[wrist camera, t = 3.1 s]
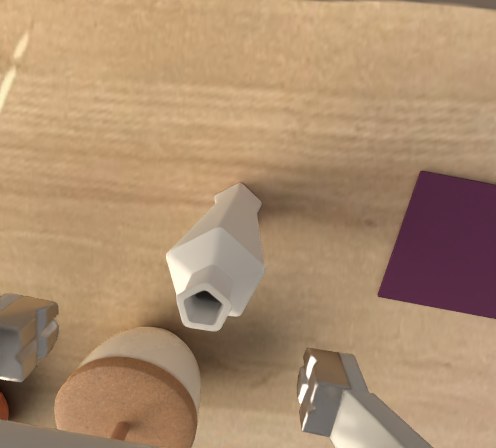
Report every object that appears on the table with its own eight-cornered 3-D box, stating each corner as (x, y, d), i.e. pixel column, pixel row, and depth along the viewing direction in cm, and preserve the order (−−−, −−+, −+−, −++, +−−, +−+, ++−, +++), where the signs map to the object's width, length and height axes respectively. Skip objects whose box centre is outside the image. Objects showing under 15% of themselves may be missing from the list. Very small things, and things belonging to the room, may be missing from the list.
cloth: (574, 199, 25) (577, 200, 25) (512, 320, 29) (515, 322, 28) (420, 170, 25) (422, 171, 25) (377, 295, 29) (378, 296, 28)
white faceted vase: (222, 168, 26) (167, 231, 12) (271, 193, 26) (277, 282, 12) (199, 218, 27) (125, 328, 13) (247, 240, 28) (225, 371, 14)
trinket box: (99, 299, 30) (30, 374, 21) (215, 312, 30) (193, 394, 21) (104, 391, 34) (45, 489, 25) (208, 403, 33) (187, 507, 25)
